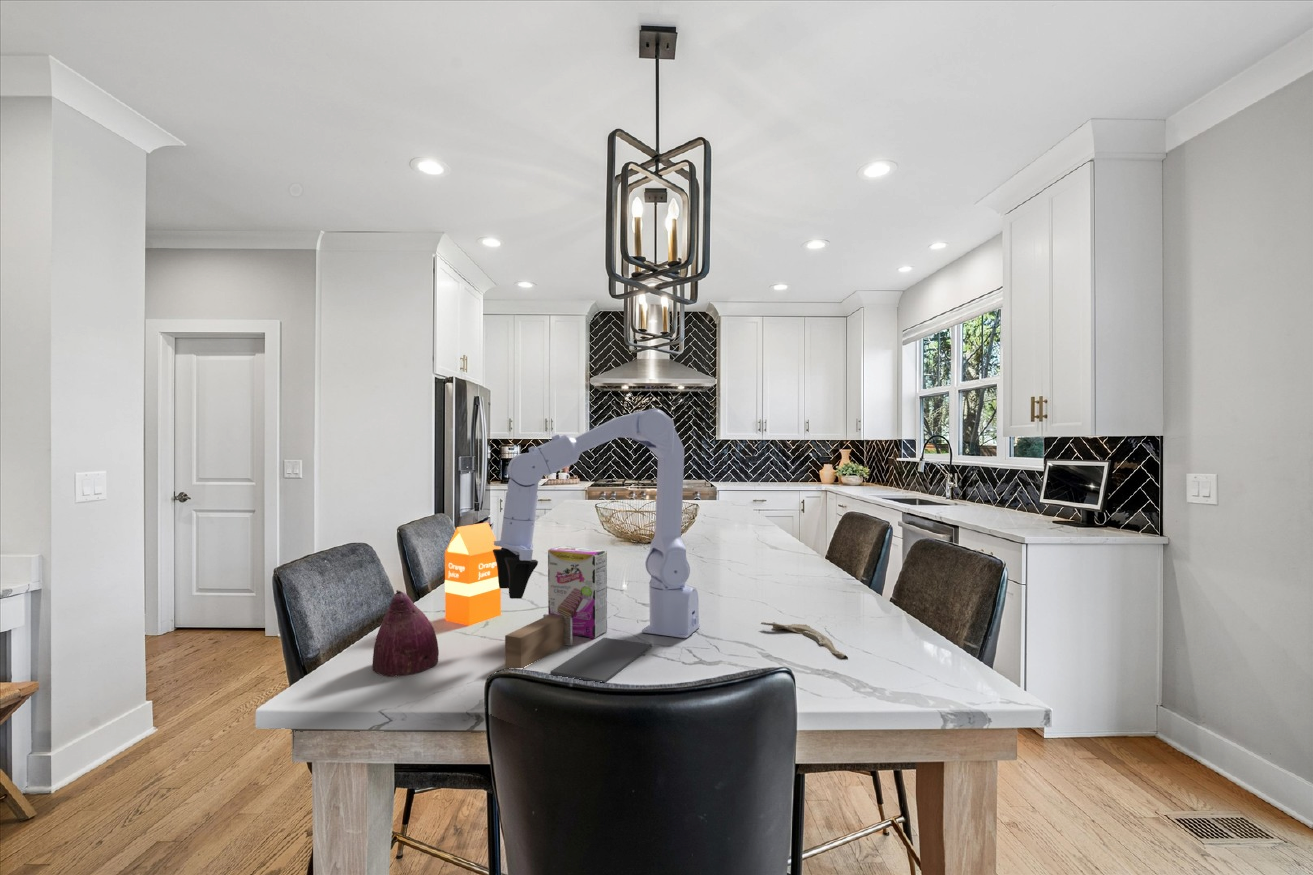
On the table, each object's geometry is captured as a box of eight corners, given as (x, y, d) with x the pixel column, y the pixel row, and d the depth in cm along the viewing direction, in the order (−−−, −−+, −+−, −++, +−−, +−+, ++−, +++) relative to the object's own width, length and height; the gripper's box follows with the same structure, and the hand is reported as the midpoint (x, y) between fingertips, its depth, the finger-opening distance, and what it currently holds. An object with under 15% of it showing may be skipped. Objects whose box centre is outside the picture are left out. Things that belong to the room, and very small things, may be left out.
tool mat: (651, 646, 110) (651, 644, 110) (604, 683, 94) (604, 680, 94) (603, 639, 114) (603, 637, 114) (550, 673, 98) (550, 671, 98)
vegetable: (415, 696, 97) (412, 614, 93) (359, 683, 99) (353, 603, 95) (451, 658, 107) (449, 582, 103) (399, 647, 109) (395, 572, 105)
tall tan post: (527, 672, 99) (527, 638, 99) (498, 667, 101) (498, 634, 101) (572, 646, 111) (572, 616, 111) (545, 641, 114) (545, 612, 114)
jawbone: (790, 626, 124) (791, 616, 124) (877, 657, 108) (877, 645, 108) (759, 631, 119) (760, 620, 119) (845, 663, 102) (845, 651, 102)
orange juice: (444, 620, 127) (443, 526, 128) (477, 609, 135) (476, 521, 135) (469, 625, 123) (469, 528, 123) (501, 615, 131) (501, 523, 131)
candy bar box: (546, 632, 119) (546, 549, 119) (561, 625, 123) (560, 545, 123) (595, 639, 114) (594, 553, 114) (608, 632, 118) (607, 549, 119)
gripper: (488, 512, 115) (479, 583, 114) (507, 522, 102) (497, 603, 101) (524, 514, 118) (516, 583, 117) (547, 524, 105) (538, 602, 104)
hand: (510, 592), depth 109 cm, fingers open, 7 cm apart
